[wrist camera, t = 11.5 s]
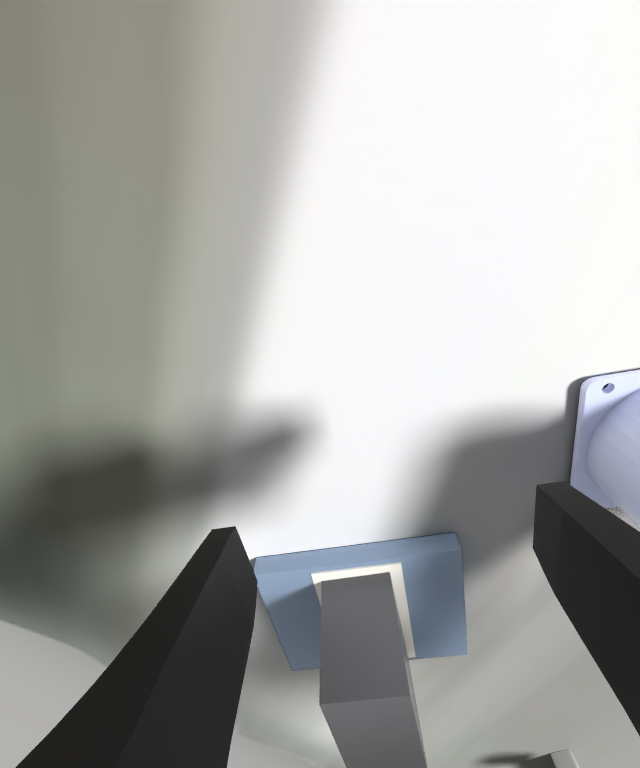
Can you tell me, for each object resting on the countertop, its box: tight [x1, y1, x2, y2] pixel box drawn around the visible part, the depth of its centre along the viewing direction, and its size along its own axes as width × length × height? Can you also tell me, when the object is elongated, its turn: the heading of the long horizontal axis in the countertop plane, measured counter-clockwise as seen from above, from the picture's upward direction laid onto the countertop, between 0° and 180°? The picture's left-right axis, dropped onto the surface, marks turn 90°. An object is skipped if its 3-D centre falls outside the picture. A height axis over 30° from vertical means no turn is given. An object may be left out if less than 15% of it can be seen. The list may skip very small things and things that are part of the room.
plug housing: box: [320, 572, 427, 768], centre depth 21 cm, size 4×8×6 cm, turn 13°
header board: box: [254, 533, 467, 671], centre depth 23 cm, size 12×10×4 cm
